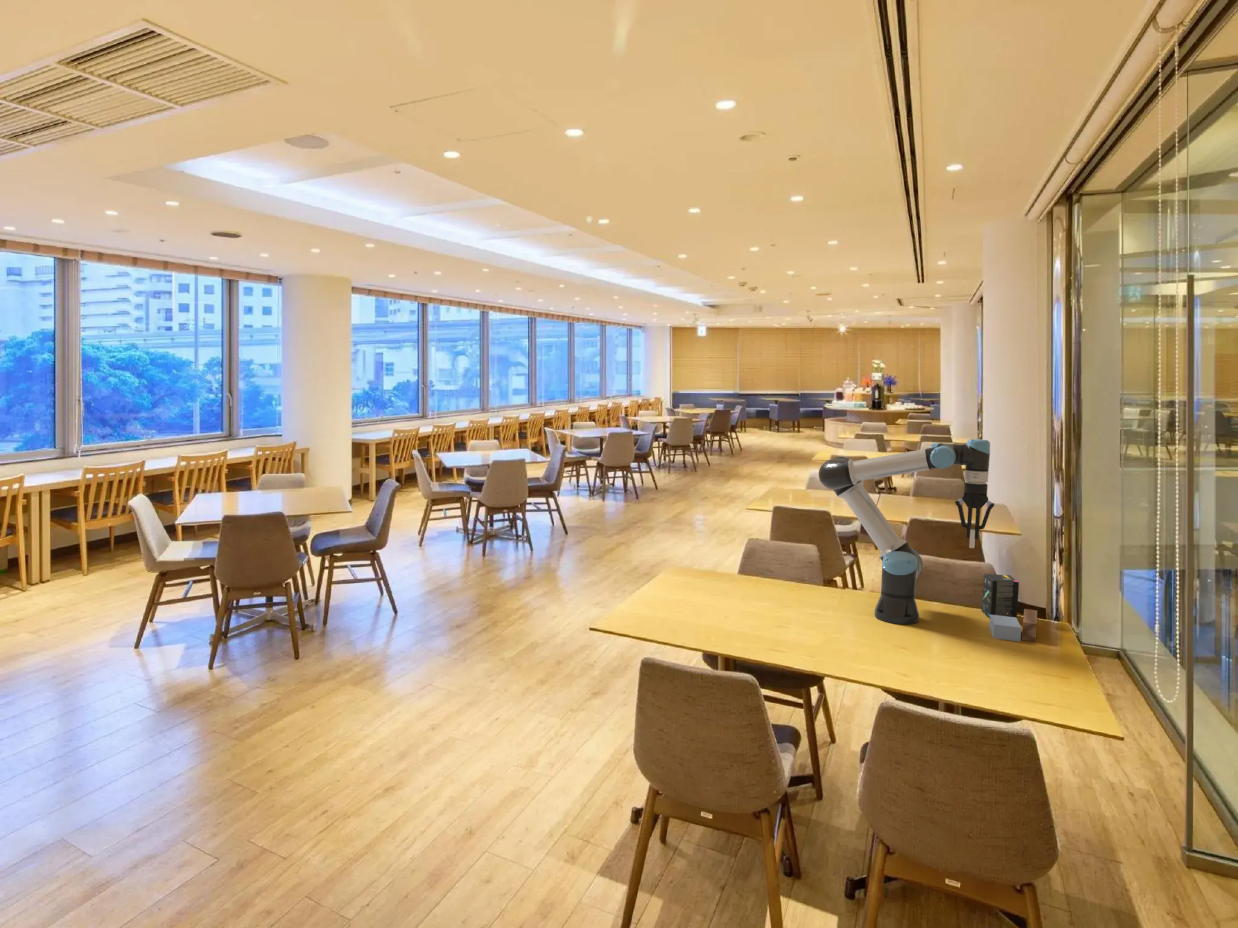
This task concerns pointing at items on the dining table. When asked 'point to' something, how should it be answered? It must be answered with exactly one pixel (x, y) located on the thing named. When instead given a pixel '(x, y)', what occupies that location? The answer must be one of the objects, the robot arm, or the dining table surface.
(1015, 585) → the tampon box
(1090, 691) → the dining table surface
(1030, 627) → the walnut board
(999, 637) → the block
